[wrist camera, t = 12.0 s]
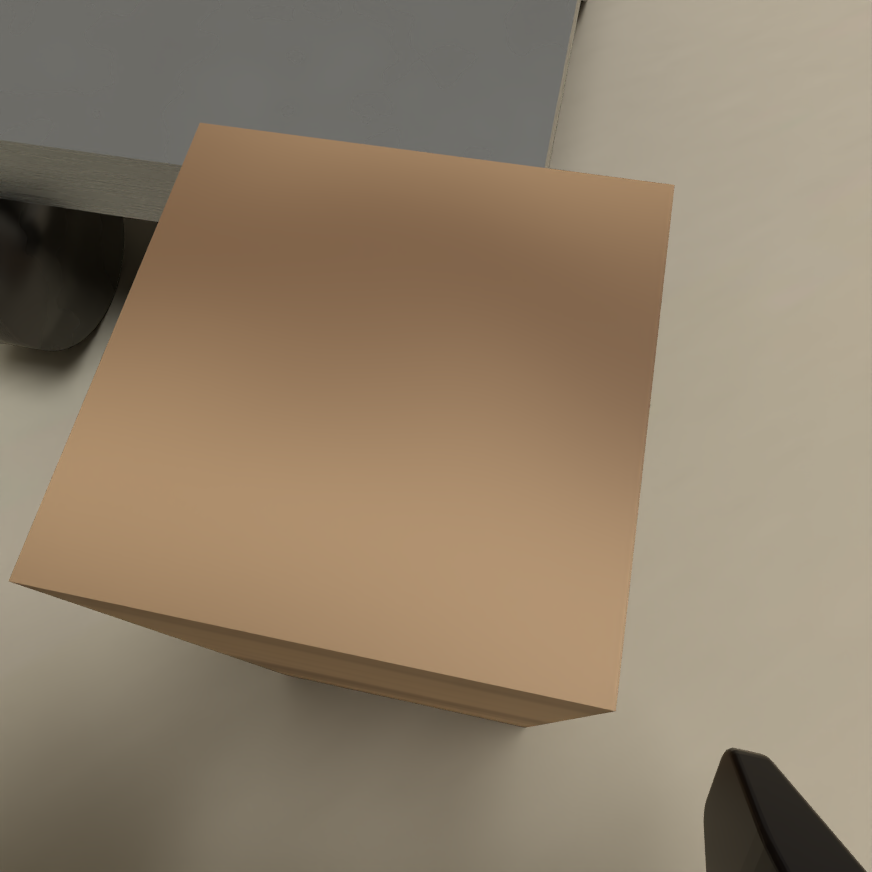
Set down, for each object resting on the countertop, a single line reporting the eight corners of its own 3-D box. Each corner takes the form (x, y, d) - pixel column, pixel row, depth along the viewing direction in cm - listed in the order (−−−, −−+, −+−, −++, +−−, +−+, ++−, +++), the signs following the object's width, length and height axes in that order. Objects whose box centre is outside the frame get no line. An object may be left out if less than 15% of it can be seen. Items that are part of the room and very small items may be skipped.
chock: (525, 727, 18) (615, 711, 7) (285, 674, 19) (8, 580, 7) (561, 492, 20) (674, 185, 9) (345, 452, 21) (199, 122, 10)
